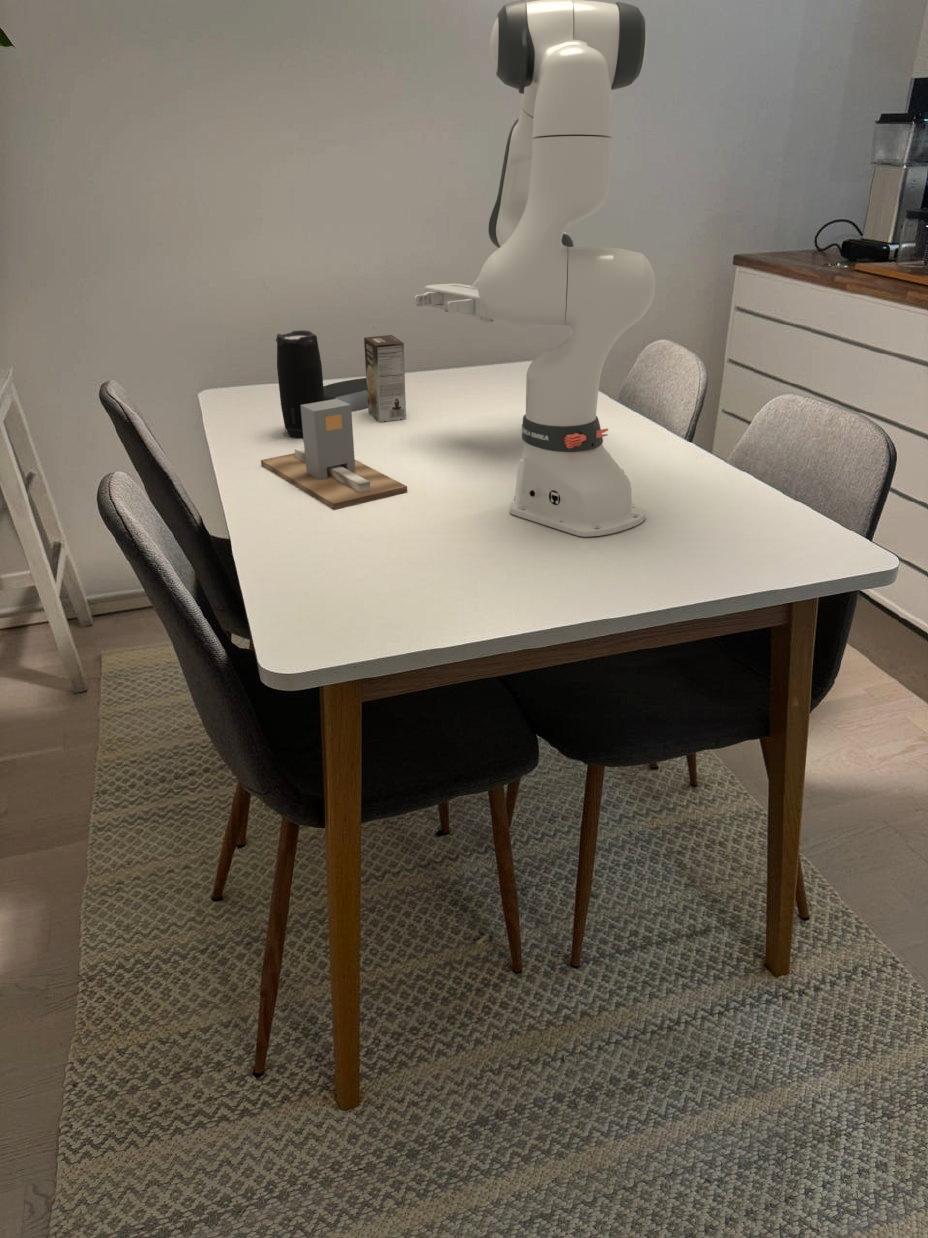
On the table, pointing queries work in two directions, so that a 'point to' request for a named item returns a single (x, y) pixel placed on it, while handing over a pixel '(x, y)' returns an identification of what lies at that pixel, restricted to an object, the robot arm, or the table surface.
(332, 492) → the rail
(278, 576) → the table surface
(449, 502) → the table surface
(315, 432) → the block
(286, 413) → the portable speaker
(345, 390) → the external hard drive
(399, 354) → the coffee box
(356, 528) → the table surface
